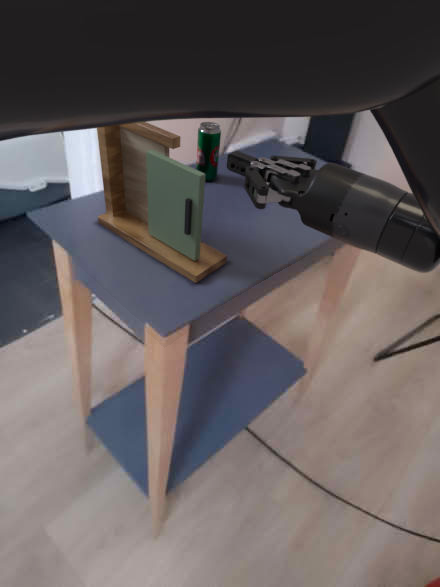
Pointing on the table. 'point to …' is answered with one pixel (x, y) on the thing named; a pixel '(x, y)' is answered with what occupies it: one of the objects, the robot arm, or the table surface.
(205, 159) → the soda can
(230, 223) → the table surface
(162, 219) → the door
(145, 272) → the table surface
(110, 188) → the door frame
